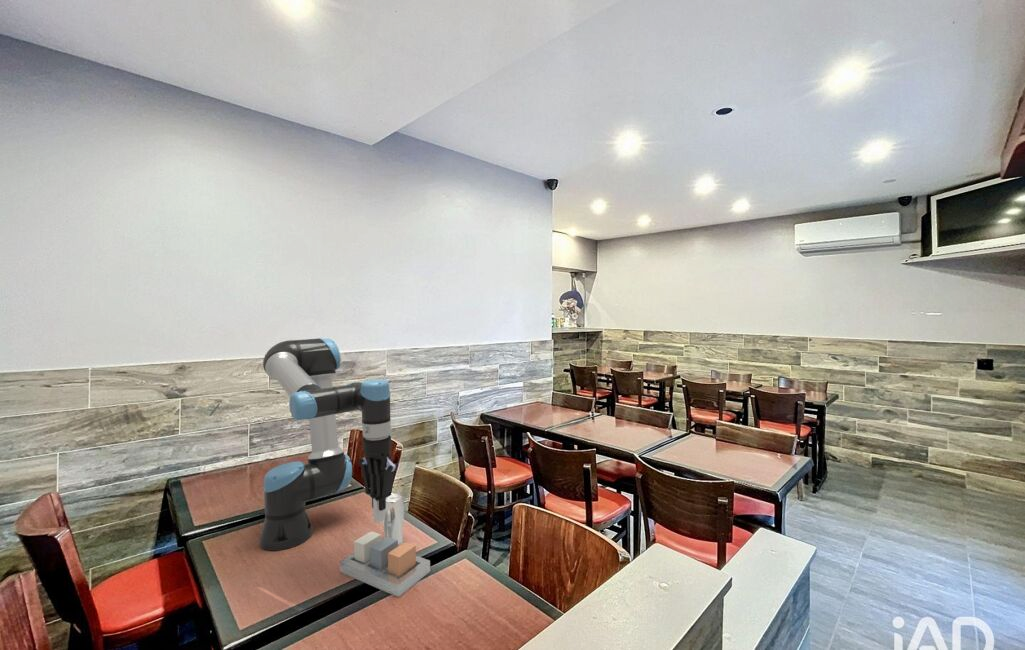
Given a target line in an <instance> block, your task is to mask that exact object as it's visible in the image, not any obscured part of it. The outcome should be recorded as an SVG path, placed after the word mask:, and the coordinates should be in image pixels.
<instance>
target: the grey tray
mask: <svg viewBox="0 0 1025 650" xmlns="http://www.w3.org/2000/svg"><path fill="white" fill-rule="evenodd" d="M339 565H340V566H339V567H340V568H339V569H340V573H341V574H343V575H346V576H349V577H351V578H352V579H356V580H358V581H360V582H362V583H364V584H367V585H369V586H371V587H374V588H376V589H379V590H381V591H383V592H385V593H388V594H389V595H392V596H394V597H396V598H399V597H401V596H402V595H403V594H404V593H406V592H407V591H408V590H409V589H411V588H412V587H413V586H415V585H416V584H417V583H418V582H419V581H421V579H423V578H424V577H425V576H427V575H428V574H429V573H430V572H431V560H430V559H426V558H424V557H421V556H418V555H416V564H415V565H414V566H412V567H411V568H410V569H408V570H407V571H406V572H404V573H403V574H402V575H400V576H398V575H395V574H393V573H390V572H388V565H387V566H386V567H384V568H383V569H379V568H376V567H374V566H371V559H370V560H368V561H367V562H365V563H364V562H361V561H358V560H356V559H355V556H354V552H353V553H352V554H350V555H348V556H347V557H345V558H343V559H342V560H340V561H339Z"/></svg>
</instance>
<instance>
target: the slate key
mask: <svg viewBox="0 0 1025 650" xmlns="http://www.w3.org/2000/svg"><path fill="white" fill-rule="evenodd" d="M398 546H399V545H398V540H396V539H393V538H390V537H386V538H385V537H384V538H383V539H381V541H380V542H378V543H377V544H375V545H373V546H372V547H370V551H371V566H374V567H376V568H379V569H383V568H384V567H386V566H387V565H388V553H389V552H390V551H392V550H393V549H395V548H396V547H398Z"/></svg>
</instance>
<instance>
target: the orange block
mask: <svg viewBox="0 0 1025 650" xmlns="http://www.w3.org/2000/svg"><path fill="white" fill-rule="evenodd" d="M416 550H417V549H416V545H414V544H412V543H409V542H406V541H405V542H404V541H403V543H401V544H400V545H398V547H396V548H395V549H393V550H392V551H390V552H389V553H388V572H390V573H393V574H395V575H398V576H400V575H402V574H403V573H404V572H406V571H407V570H408V569H410V568H411V567H412V566H414V565H415V564H416V556H417V554H416V553H417V551H416Z"/></svg>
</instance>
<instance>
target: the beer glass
mask: <svg viewBox="0 0 1025 650" xmlns="http://www.w3.org/2000/svg"><path fill="white" fill-rule="evenodd" d="M404 518H405V502H404V495H403V494H401V493H398V492H396V493H395V492H394V493H393V492H392V494H391V495H390V496H389V497H387V498H386V509H385V519H384V520H382V521H381V522H382V527H383V532H384V539H385V538H386V537H390V538H393V539H396V540H398V546H399V545H401V544H402V543H404V536H403V526H404Z"/></svg>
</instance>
